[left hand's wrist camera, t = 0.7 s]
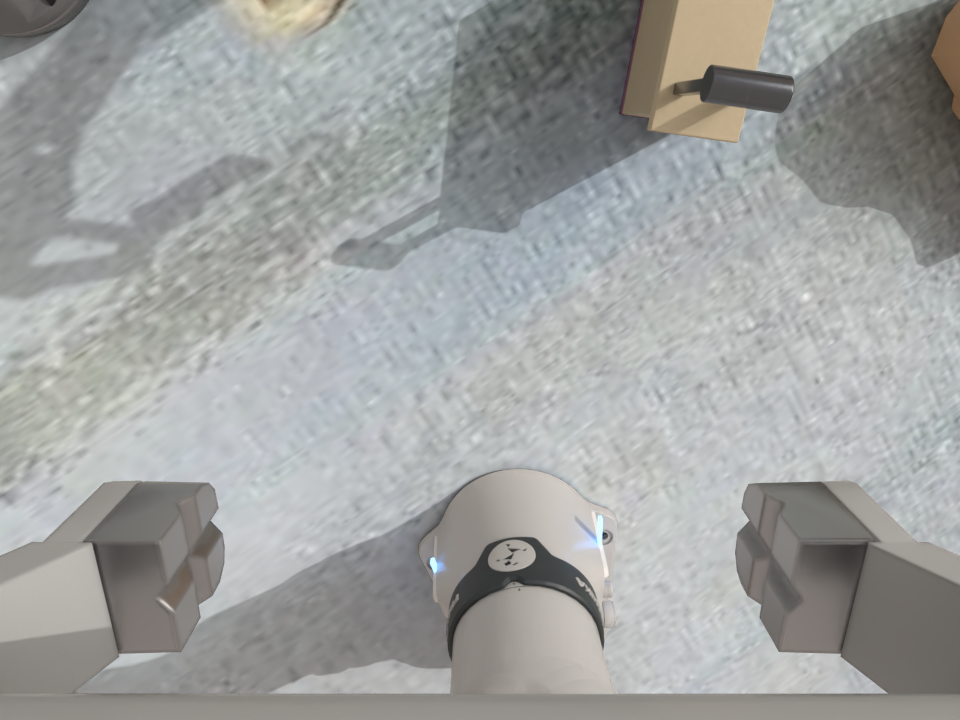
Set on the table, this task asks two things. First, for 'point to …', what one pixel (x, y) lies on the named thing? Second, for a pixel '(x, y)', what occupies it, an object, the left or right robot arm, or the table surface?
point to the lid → (715, 70)
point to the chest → (646, 57)
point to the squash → (950, 54)
